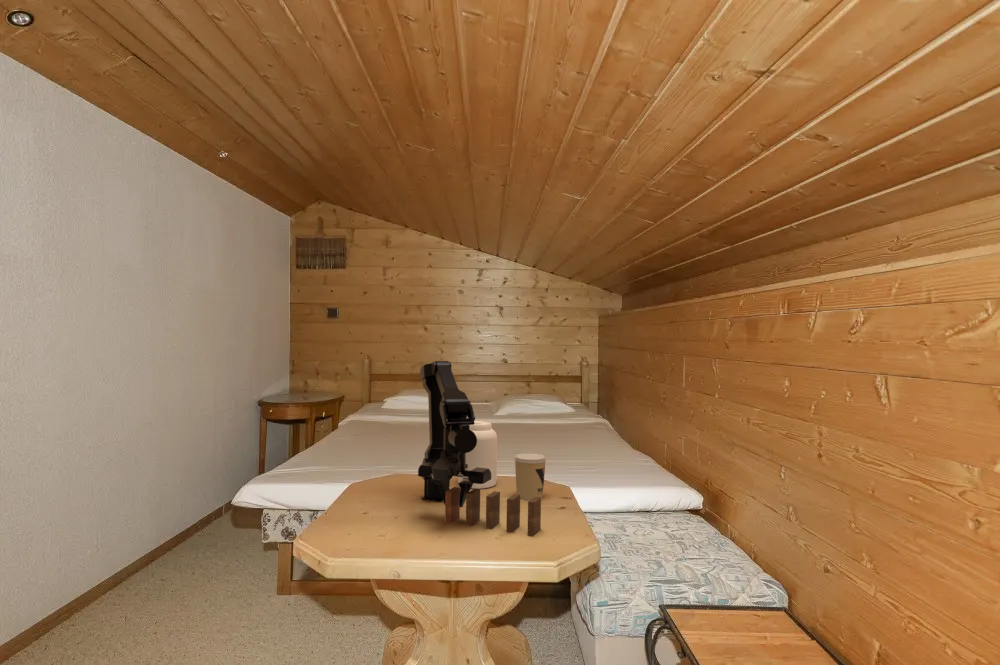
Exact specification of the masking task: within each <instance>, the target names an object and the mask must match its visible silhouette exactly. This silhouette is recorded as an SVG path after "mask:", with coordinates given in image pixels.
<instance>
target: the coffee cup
mask: <svg viewBox="0 0 1000 665" xmlns="http://www.w3.org/2000/svg"><path fill="white" fill-rule="evenodd" d="M546 461H547V459H546V457H545V455H543V454H540V453H531V452H530V453H528V452H527V453H525V452H524V453H519V454H516V455H515V456H514V462H515V463H514V466H515V468H514V469H515V470H514V471H515V486H516V487H515V489H516V494H520V500H525V501H530V500H531V499H532V498H534V497H541V499H543V495H544V485H545V483H544V482H545V472H546V471H545V469H546Z"/></svg>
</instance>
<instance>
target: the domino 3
mask: <svg viewBox="0 0 1000 665" xmlns="http://www.w3.org/2000/svg"><path fill="white" fill-rule="evenodd" d="M485 497H486V498H485V530H493V529H495V528H496V527H497V526H499V525H500V520H501V519H500V517H501V516H500V513H501V512H500V510H501V502H500V501H501V491H495V490H494V491H492V492H491V493H489V494H487V495H486V496H485Z"/></svg>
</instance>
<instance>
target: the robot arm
mask: <svg viewBox="0 0 1000 665" xmlns="http://www.w3.org/2000/svg"><path fill="white" fill-rule="evenodd" d="M419 377H420V379H421V380H422V381H421V382H422V383H421V384H422V387H423V389H424V390H425V391H426V393H427V395H428V396H427V398H428V425H429V427H428V429H429V430H428V431H429V444H428V446H427V448H426V450H425V451H424V458H423V460H422V462H421V464H420V465H419V467H418V468H417V476H418V477H419V478H422V479H423V481H424V487H423V488H424V489H423V490H424V491H423V496H421V498H420V499H421V500H423V501H430V502H437V503H442V502H443V504H444V506H445V497H446V491H447V490H449V489H450V486H451V485H450V484H451V480H452V479H453V477H457V478H458V477H463V481H461V482H459V483H458V485H459V486H458V487H460V508H463V507H464V506H465V505H464V504H466V493H468V492H470V491H471V489H472V488H471V487H472V485H473V484H474V483H476V484H484V483H485V482H487V481H489V480H491V471H490V470H489V469H488V468H479V467H477V468H475V469H473V470H465V469H466V468H468V464H466V453H468V452H471V451H472V450H473V449H474V448H475V447H476V444H477V438H476V435H475V433H474V432H473V431H471V430H469V425H474V421H476V415H475V413H474V408H473V405H472V402H471V401H470V400H469V397H468V396H467V394H466V393H465V391H464V392H463V391H461V390H460V389H459V387H458V384H457V381H456V379H455V376H454V373H453V370H452V362H451V361H449V360H435V361H432V362H431V363H425V364H423V366H421V367H420V372H419Z"/></svg>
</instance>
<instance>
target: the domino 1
mask: <svg viewBox="0 0 1000 665" xmlns="http://www.w3.org/2000/svg"><path fill="white" fill-rule="evenodd" d="M460 508H461V507H460V486H453V487H451V488H449V490H447V491H446V497H445V505H444V512H445V513H444V523H445V524H448V525H449V524H450V525H451V524H453V523H455V522H457V521H458V520H459V519H460V518H461V515H460V512H461V509H460Z"/></svg>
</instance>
